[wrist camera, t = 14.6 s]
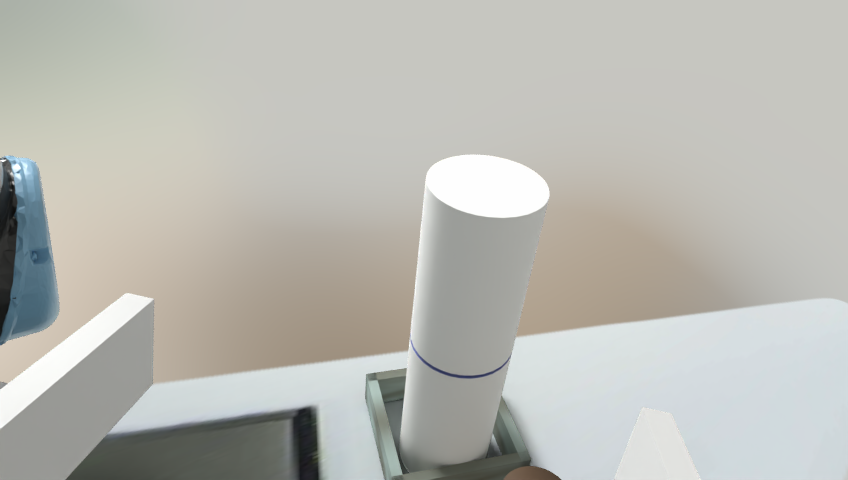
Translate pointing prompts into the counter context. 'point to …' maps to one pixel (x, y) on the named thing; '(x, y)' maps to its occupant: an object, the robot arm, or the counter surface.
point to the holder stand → (491, 476)
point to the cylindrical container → (467, 304)
